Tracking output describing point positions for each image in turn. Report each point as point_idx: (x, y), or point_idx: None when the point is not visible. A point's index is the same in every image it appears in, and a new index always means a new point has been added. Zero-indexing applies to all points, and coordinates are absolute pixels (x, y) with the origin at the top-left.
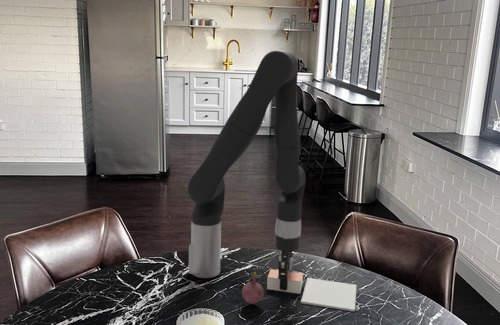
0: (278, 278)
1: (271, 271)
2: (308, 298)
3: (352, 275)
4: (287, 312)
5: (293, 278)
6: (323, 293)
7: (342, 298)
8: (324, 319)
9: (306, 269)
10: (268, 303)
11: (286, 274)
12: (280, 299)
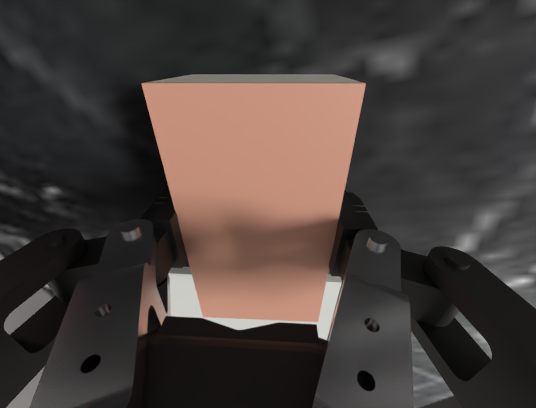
0: (42, 236)
1: (301, 105)
2: (173, 292)
3: (413, 377)
4: (27, 225)
5: (224, 285)
6: (240, 328)
7: None
8: None
9: (496, 267)
10: (23, 123)
11: (18, 343)
12: (114, 182)
